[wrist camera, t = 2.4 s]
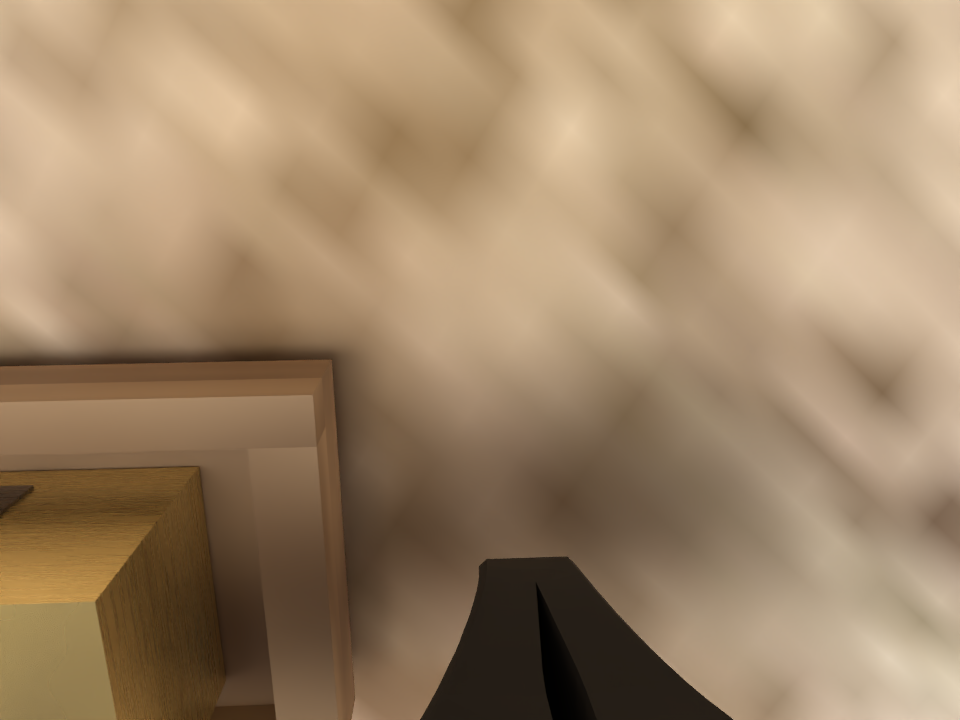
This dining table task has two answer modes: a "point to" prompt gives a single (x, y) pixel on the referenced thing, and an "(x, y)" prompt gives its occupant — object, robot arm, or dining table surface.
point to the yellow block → (107, 596)
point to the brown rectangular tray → (223, 502)
